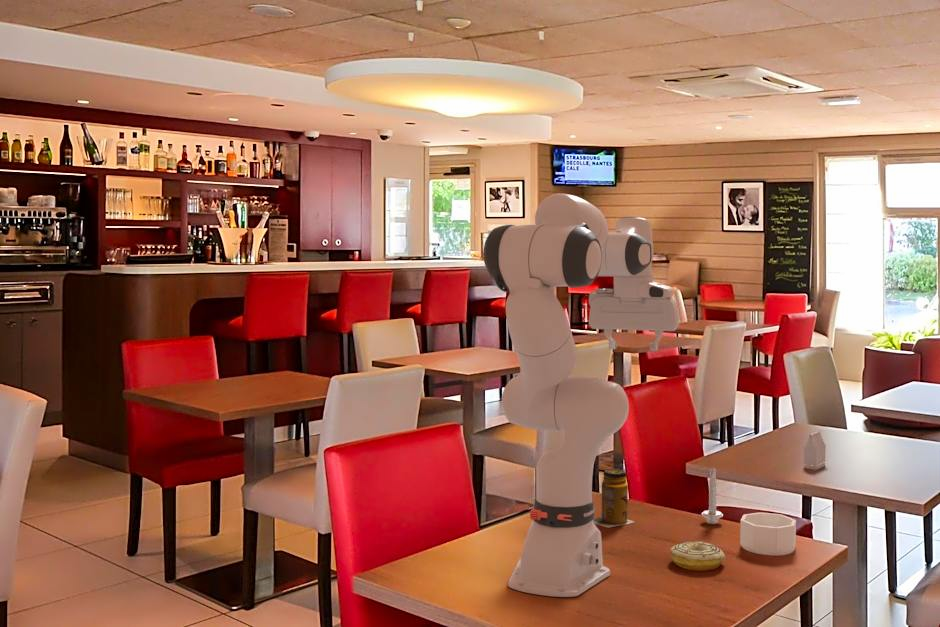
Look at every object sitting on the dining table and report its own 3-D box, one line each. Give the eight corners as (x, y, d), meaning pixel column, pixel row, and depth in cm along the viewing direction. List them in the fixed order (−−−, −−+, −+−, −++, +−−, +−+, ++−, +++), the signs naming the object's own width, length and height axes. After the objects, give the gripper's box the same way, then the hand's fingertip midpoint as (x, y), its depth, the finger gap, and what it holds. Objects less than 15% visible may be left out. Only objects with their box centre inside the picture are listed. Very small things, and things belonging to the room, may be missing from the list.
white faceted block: (825, 465, 280) (825, 432, 279) (816, 469, 275) (816, 435, 274) (812, 463, 282) (813, 430, 282) (803, 468, 277) (804, 433, 277)
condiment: (635, 522, 224) (635, 472, 223) (608, 528, 220) (608, 477, 219) (614, 515, 230) (614, 466, 229) (587, 521, 226) (587, 471, 225)
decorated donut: (733, 563, 196) (733, 545, 195) (707, 577, 188) (707, 558, 188) (688, 552, 203) (688, 535, 203) (661, 565, 195) (661, 547, 195)
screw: (697, 520, 225) (715, 519, 227) (708, 526, 221) (727, 524, 222) (698, 466, 224) (716, 464, 226) (709, 471, 220) (727, 469, 221)
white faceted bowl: (792, 558, 198) (792, 529, 198) (737, 551, 202) (738, 524, 202) (796, 543, 208) (797, 516, 208) (745, 537, 212) (745, 510, 212)
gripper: (585, 289, 218) (585, 349, 219) (675, 290, 210) (674, 353, 211) (592, 287, 224) (592, 346, 225) (680, 288, 216) (680, 349, 217)
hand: (633, 349), depth 218 cm, fingers open, 8 cm apart
